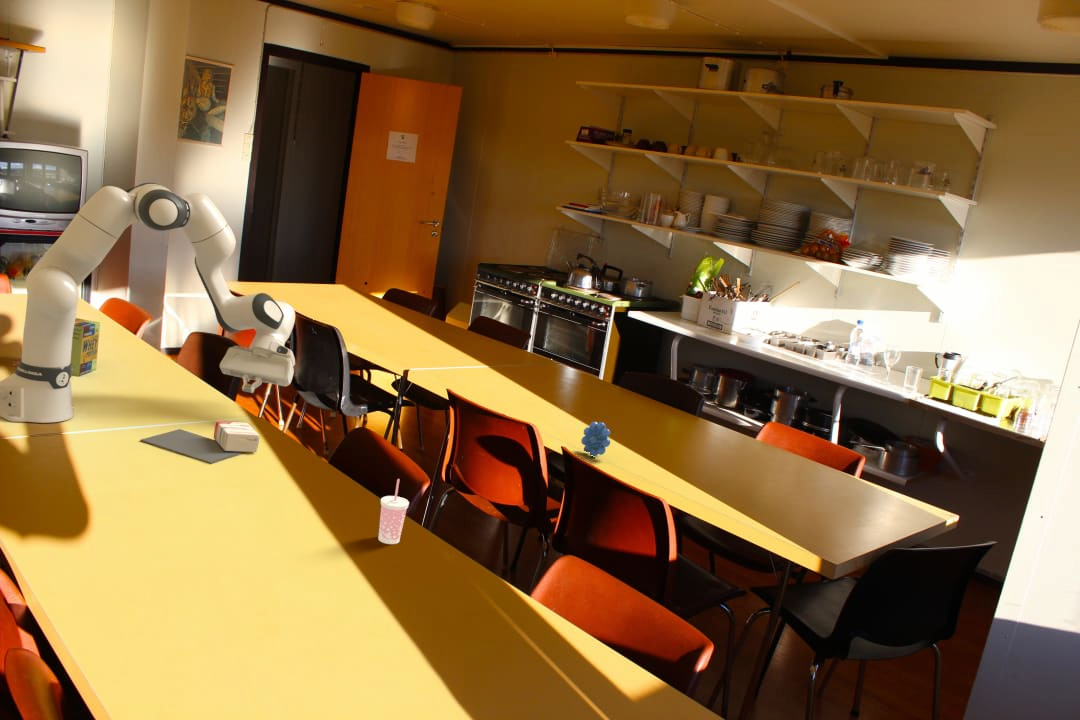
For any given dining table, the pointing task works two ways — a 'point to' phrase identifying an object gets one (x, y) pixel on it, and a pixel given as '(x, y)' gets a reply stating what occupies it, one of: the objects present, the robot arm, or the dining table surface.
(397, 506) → the beverage cup
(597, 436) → the grapes
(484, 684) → the dining table surface
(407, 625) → the dining table surface
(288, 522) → the dining table surface
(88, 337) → the protein box
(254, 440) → the ink box
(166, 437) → the mat
